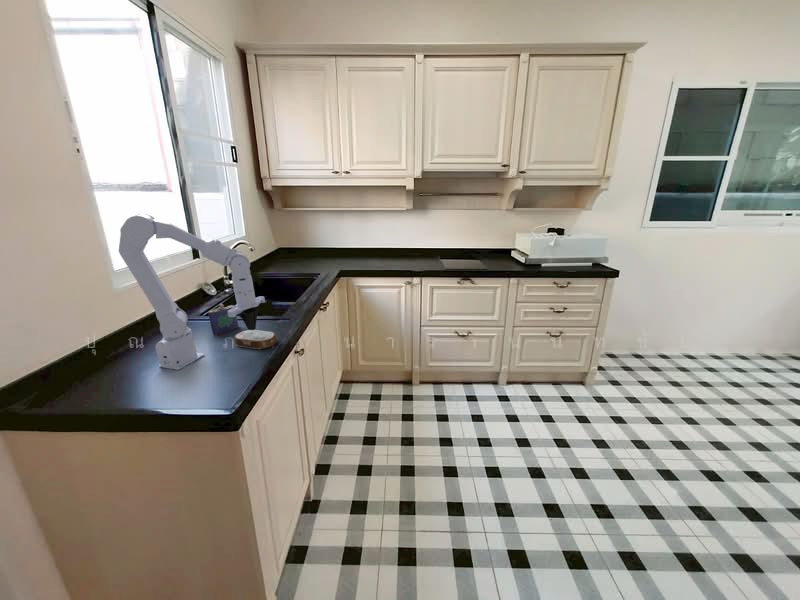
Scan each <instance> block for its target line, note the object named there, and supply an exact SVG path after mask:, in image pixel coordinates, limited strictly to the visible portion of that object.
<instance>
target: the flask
mask: <svg viewBox="0 0 800 600" xmlns="http://www.w3.org/2000/svg"><path fill="white" fill-rule="evenodd" d="M234 306H235V305H232V304H231V305H228V306H226V307H225V305H224V304H223V303H220V304H219V306H218V307H217V308H215V309H211V310H209V311H208V312H207V315H208V319H209V324H210V327H211V332H212V335H213V336H220V335H224V334H227V333H229V332H233V331H235V330H238V329H239V328H240V325H239V321H238V316H237V315H238V314H237V315H236V316H235V317H228V312H227V311H228V310H230V309H232V308H233V307H234Z"/></svg>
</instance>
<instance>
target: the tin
mask: <svg viewBox="0 0 800 600" xmlns="http://www.w3.org/2000/svg"><path fill="white" fill-rule="evenodd" d="M233 340H234V345H237V346H236V347H240V346H242V347H241V348H247V347H249V349H254V348H256V350H261V349H266V348H270V347H272V346H274V345H275V344H277V342H278V338H277V335H276V333H275V332H274V331H270V330H262V329H255V330H248V329H246V330H245V329H244V330H242V331H240V332H238V333H236V334H234V336H233Z"/></svg>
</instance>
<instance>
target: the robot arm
mask: <svg viewBox="0 0 800 600" xmlns="http://www.w3.org/2000/svg"><path fill="white" fill-rule="evenodd" d="M124 221H125V222H124V223H123V225H122V226H121V227H120V238H119V245H118V253H119V255H120V257H121V258H122V260H123V261H124V263H125V264H126V267H127V268H128V269H129V271H130V273H131V274H132V276H133V278H134V279H135V280H136V282H137V283H138V285H139V286H140V289H141V291H143V294H144V295H145V296H146V298H147V300H148V301H149V303H150V304H151V306H152V308H153V309H154V312H155V316H156V319H157V321H158V322H159V330H160V333H161V334H162V339H160V341H158V342H157V343H156V344H155V346H154V348H155V352H156V355H157V359H158V361H159V365H158V367H159V368H165V369H171V370H174V371H175V370H177V371H178V370H181V369H183V368H184V367H186V366H188V365H190V364H192V363H193V362H195V361H197V360H199V359H201V358H203V357H204V356H205V353H202V352H198V351H197V349H196V344H195V341H194V336H193V332H192V329H191V328H190V327H188V325H187V322H188V320H189V319H188V314H187V313H186V312H185V311H184V310H183V309H181V308H180V307H179V306H178V304H177V303H176V302H175V301H173V299H172V298H171V296H170V294H169V292H168V290H167V288H166V287H165V286H164V284H163V282H162V280H161V279H160V277H159V276H158V274H157V272H156V270H155V269H154V267H153V265H152V263H150V260H149V259H148V257H147V255H146V254H145V252H144V251H145V250H146V249H145V248H147V247H146V246H147V245H148V243H149V240H150V239H151V238H152V237H154V236H155V239H171V240H173V241H177V242H179V243H181V244H183V245H185V246H188V247H190V248H193V249H195V250H198V251H200V253H201V257H203V258H204V259H207V260H209V261H212V262H213V263H216V264H218V265H220V266H224V267H228V268H229V269H230V270H231V272H230V273H231V276H232V277H231V280H232V287H233V291H234V295H235V296H234V297H235V301H236V304H235V305H233V306H234V307H233V308H232V309H230V310H228V311H227V312H228V317H235V316H236V315H238V316H239V318H240V319H241V320H242V321H243V322H244V324H245V327H246V329H247V330H257V329H256V327H257V319H258V316H259V312H260V311H261V310H260V306H259V305H260V304H262V303H263V304H264V303H266V299H265V296H264V295H263V296H260V295H259V296H257V297H256V295H255V288H254V282H253V278H252V274H251V269H250V267H251V262H250V260H249V258H248V257H247V255H246V254H244V253H243V252H242V251H238V250H237V248H231V247H228V246H226V245H224V244H222V241H221V240H219V239H216V240H214V239H207V240H204V239H203V238H200V237H198V236H196V235H194V234H192V233H190V232H189V231H186V230H185V229H182V228H181V227H178V226H176V225H174V224H172V223H170V222H168V221H165V220H163V219H161V218H157V217H156V218H155V217H154V216H152V215H150V214H147V213H138V214H135V215H132V216H131V217H128V218H127V219H126V220H124Z"/></svg>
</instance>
